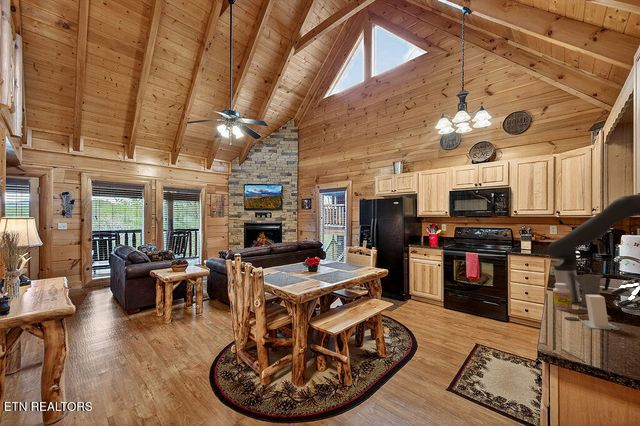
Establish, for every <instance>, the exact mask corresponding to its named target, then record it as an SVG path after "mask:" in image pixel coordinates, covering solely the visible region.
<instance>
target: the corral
mask: <svg viewBox="0 0 640 426" xmlns="http://www.w3.org/2000/svg"><path fill="white" fill-rule="evenodd" d="M568 311H569V313H570V314H572V313H573V314H574V313H575V314H577V318H578V319H579V320H589V316H588V315H587V314H588V310H584V309H578V308H572V309H569V310H568ZM585 314H586V315H585ZM607 317H608V321H612V317H611V316H610V315H608V314H607Z"/></svg>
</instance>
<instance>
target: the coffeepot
mask: <svg viewBox="0 0 640 426" xmlns="http://www.w3.org/2000/svg"><path fill="white" fill-rule="evenodd" d="M573 278H574V279H575V280H576V281H577V282H578V285H579V288H580V289H581V298H580V300H581V302H580V303H581V306H584V307H587V302H586V296H585V295H600V296H602V295H601V292H600V289H601V280H603V279H605V284H604V288H602V289H601V291H603V292H607V291H608V290H609V286H610V282H611V277H609V275H607V274H592V273H590V270H585V273H583V274H578V275H577V276H574V277H573Z"/></svg>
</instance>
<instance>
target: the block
mask: <svg viewBox="0 0 640 426" xmlns="http://www.w3.org/2000/svg"><path fill="white" fill-rule="evenodd" d="M600 295H601V294H600ZM600 295H585V296H586V302H587V306H586V308H587V309H588V313H587V314H588V316H589V319H588V321H589V322H590V323H591V324H592V325H594V326H604V327H609V324H608V323H609V320H608V317H607V315H608V313H607V305H606V299H605V297H604V296H603V295H601V296H600Z"/></svg>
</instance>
